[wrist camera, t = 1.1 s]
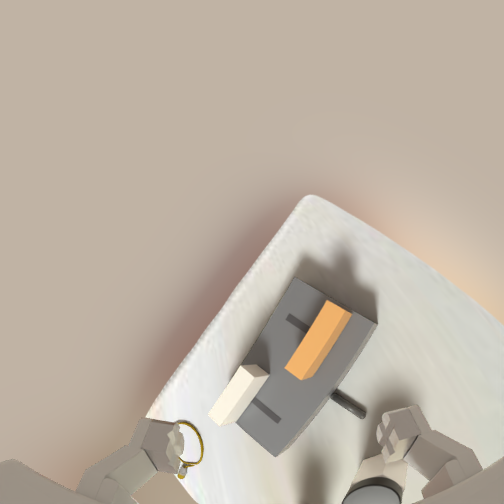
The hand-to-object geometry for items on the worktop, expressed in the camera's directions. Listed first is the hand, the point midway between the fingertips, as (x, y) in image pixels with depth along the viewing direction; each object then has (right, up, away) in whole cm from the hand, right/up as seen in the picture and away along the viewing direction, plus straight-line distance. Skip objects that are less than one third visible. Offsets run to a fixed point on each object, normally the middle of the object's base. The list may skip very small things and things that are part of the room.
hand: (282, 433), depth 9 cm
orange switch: (+10, -6, +30) cm, 32 cm away
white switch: (-2, -17, +33) cm, 37 cm away
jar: (+20, -29, +21) cm, 41 cm away
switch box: (+9, -15, +33) cm, 38 cm away
